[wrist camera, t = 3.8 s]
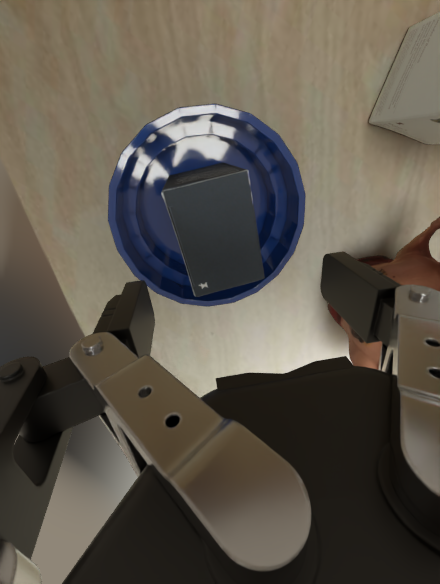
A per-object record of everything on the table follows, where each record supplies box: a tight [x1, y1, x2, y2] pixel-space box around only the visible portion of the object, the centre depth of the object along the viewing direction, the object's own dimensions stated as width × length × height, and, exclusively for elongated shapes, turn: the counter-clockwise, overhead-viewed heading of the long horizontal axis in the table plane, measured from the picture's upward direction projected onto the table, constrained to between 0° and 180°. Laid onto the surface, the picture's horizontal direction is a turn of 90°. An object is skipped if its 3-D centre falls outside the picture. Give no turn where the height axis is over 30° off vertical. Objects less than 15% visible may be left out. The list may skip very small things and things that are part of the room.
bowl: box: [108, 104, 305, 306], centre depth 25 cm, size 16×16×6 cm
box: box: [161, 163, 265, 297], centre depth 22 cm, size 8×6×11 cm
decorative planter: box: [328, 217, 440, 370], centre depth 28 cm, size 20×12×14 cm, turn 2°
